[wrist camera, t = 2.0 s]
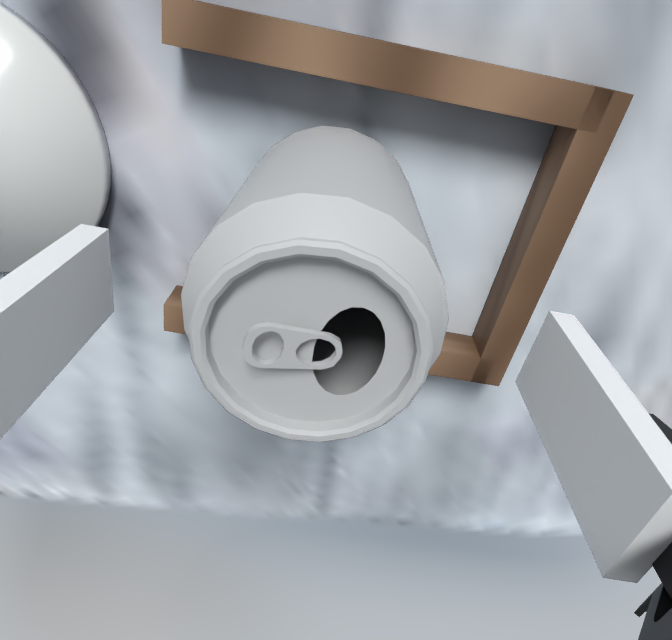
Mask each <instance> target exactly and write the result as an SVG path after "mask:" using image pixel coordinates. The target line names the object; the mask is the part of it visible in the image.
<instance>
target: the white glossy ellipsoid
mask: <svg viewBox="0 0 672 640" xmlns="http://www.w3.org/2000/svg"><path fill="white" fill-rule="evenodd" d="M110 186H111V164H110V156H109V149H108V145H107V141H106V137H105V133H104V129H103V127H102V124H101V121H100V119H99V116H98V113H97V111H96V109H95V107H94V105H93V103H92V101H91V99H90V97H89V95H88V93H87V91H86V89H85V88H84V86H83V84H82V83H81V81H80V80H79V78H78V76H77V75H76V73H75V72H74V70H73V69H72V68H71V67H70V65H69V64H68V63H67V61H66V60H65V59H64V58H63V56H62V55H61V54H60V52H59V51H58V50H57V49H56V48H55V47H54V46H53V45H52V44H51V43H50V42H49V41H48V40H47V39H46V38H45V37H44V35H42V34H41V33H40V32H39V31H38V30H37V29H36V28H34V27H33V26H32V25H31V24H30V23H29V22H28V21H26V20H25V19H24V18H23V17H21V16H20V15H18V14H17V13H16V12H14V11H13V10H11V9H10V8H9V7H7V6H6V5H4V4H3V3H1V2H0V271H1V272H12V271H13V270H15V269H16V268H18V267H19V266H20V265H22V264H23V263H25V262H26V261H28V260H29V259H31V258H32V257H34V256H35V255H36V254H38V253H39V252H41V251H42V250H44V249H45V248H47V247H48V246H50V245H51V244H53V243H54V242H55V241H57V240H58V239H60V238H61V237H63V236H64V235H66V234H67V233H69V232H70V231H71V230H73V229H74V228H76V227H77V226H79V225H80V224H85V225H90V226H96V227H98V225H99V223H100V221H101V219H102V217H103V215H104V212H105V209H106V206H107V203H108V200H109V193H110Z"/></svg>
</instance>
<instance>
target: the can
mask: <svg viewBox="0 0 672 640" xmlns="http://www.w3.org/2000/svg"><path fill="white" fill-rule="evenodd" d="M181 299H182V310H183V321H184V330H185V332H186V335H187V337H188V339H189V341H190V350H191V359H192V361H193V363H194V365H195V368H196V370H197V372H198V374H199V376H200V378H201V380H202V383H203V385H204V387H205V388H206V389H207V390H208V391H209V392H210V393H211V395H212V396H213V397H214V398H215V399H216V400H217V401H218V402H219V403H220V404H221V405H222V406H223V407H224V409H225V410H226V411H228V412H229V413H231V414H232V415H234V416H236V417H237V418H239V419H240V420H242V421H244V422H245V423H247V424H248V425H250V426H252V427H253V428H255V429H258V430H261V431H264V432H267V433H270V434H273V435H276V436H279V437H282V438H286V439H293V440H304V441H316V442H324V441H331V440H338V439H345V438H352V437H355V436H358V435H360V434H363V433H365V432H368V431H370V430H373V429H375V428H378V427H380V426H382V425H384V424H386V423H387V422H388V421H390V420H391V419H392V418H393V417H395V416H396V415H397V414H399V413H400V412H401V411H402V410H404V409H405V408H406V407H408V406H409V405H410V403H411V402H412V400H413V399H414V397H415V396H416V394H417V393H418V391H419V390H420V388H421V387H422V385H423V384H424V382H425V381H426V379H427V375H428V371H429V369H430V368H431V366H432V365H433V363H434V362H435V360H436V359H437V357H438V356H439V354H440V352H441V348H442V344H443V340H444V336H445V332H446V328H447V324H448V320H449V316H448V308H447V300H446V292H445V284H444V280H443V277H442V274H441V271H440V269H439V266H438V263H437V260H436V258H435V255H434V252H433V249H432V247H431V244H430V241H429V238H428V235H427V233H426V230H425V227H424V224H423V222H422V219H421V216H420V213H419V211H418V208H417V205H416V202H415V200H414V197H413V194H412V191H411V189H410V186H409V183H408V181H407V179H406V177H405V175H404V174H403V172H402V170H401V168H400V166H399V164H398V162H397V160H396V159H395V158H394V157H393V156H392V155H391V154H390V153H389V152H388V151H387V150H386V149H385V148H384V147H383V146H382V145H380V144H379V143H378V142H377V141H376V140H374V139H372V138H370V137H368V136H366V135H363V134H361V133H359V132H357V131H355V130H353V129H351V128H341V127H332V126H318V127H314V128H309V129H305V130H301V131H297V132H294V133H292V134H291V135H289V136H287V137H286V138H284V139H283V140H281V141H280V142H278V143H277V144H275V145H273V146H272V147H271V148H270V149H269V150H268V152H267V153H266V154H265V155H264V157H263V158H262V159H261V161H260V162H259V163H258V165H257V166H256V167H255V168H254V170H253V171H252V173H251V174H250V176H249V177H248V178H247V180H246V181H245V183H244V184H243V185H242V187H241V188H240V190H239V191H238V193H237V194H236V195H235V197H234V198H233V200H232V201H231V203H230V204H229V205H228V207H227V208H226V210H225V211H224V212H223V214H222V215H221V217H220V218H219V220H218V221H217V222H216V224H215V225H214V227H213V228H212V230H211V231H210V232H209V234H208V235H207V237H206V238H205V240H204V241H203V242H202V244H201V245H200V247H199V248H198V249H197V251H196V252H195V254H194V255H193V257H192V258H191V262H190V265H189V269H188V272H187V275H186V279H185V282H184V286H183V289H182V292H181Z"/></svg>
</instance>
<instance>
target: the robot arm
mask: <svg viewBox="0 0 672 640" xmlns="http://www.w3.org/2000/svg"><path fill="white" fill-rule="evenodd" d="M113 312H114V303H113V289H112V274H111V259H110V244H109V230H108V229H107V228H101V227H96V226H90V225H85V224H80V225H79V226H77V227H76V228H74V229H73V230H71V231H70V232H69V233H67V234H66V235H64V236H63V237H61V238H60V239H58V240H57V241H55V242H54V243H53V244H51V245H50V246H48V247H47V248H45V249H44V250H42V251H41V252H39V253H38V254H36V255H35V256H34V257H32V258H31V259H29V260H28V261H26V262H25V263H23V264H22V265H20V266H19V267H18V268H16V269H15V270H13V271H12V272H10V273H9V274H7V275H6V276H4V277H3V278H2V279H0V440H1V438H2V437H3V436H4V435H5V434H6V433H7V432H8V431H9V429H10V428H11V427H12V426H13V425H14V424H15V423H16V421H17V420H18V419H19V418H20V417H21V416H22V415H23V414H24V412H25V411H26V410H27V409H28V408H29V407H30V406H31V404H32V403H33V402H34V401H35V400H36V399H37V398H38V397H39V395H40V394H41V393H42V392H43V391H44V390H45V389H46V387H47V386H48V385H49V384H50V383H51V382H52V381H53V380H54V378H55V377H56V376H57V375H58V374H59V373H60V372H61V371H62V369H63V368H64V367H65V366H66V365H67V364H68V363H69V361H70V360H71V359H72V358H73V357H74V356H75V355H76V354H77V352H78V351H79V350H80V349H81V348H82V347H83V346H84V344H85V343H86V342H87V341H88V340H89V339H90V338H91V337H92V335H93V334H94V333H95V332H96V331H97V330H98V329H99V327H100V326H101V325H102V324H103V323H104V322H105V321H106V320H107V318H108V317H109V316H110V315H111V314H112V313H113ZM515 382H516V384H517V386H518V389H519V391H520V393H521V395H522V398H523V400H524V402H525V404H526V407H527V409H528V411H529V413H530V416H531V418H532V420H533V422H534V425H535V427H536V429H537V431H538V434H539V436H540V438H541V440H542V442H543V445H544V447H545V449H546V451H547V454H548V456H549V458H550V460H551V463H552V465H553V467H554V469H555V472H556V474H557V476H558V478H559V481H560V483H561V485H562V487H563V490H564V492H565V494H566V496H567V499H568V501H569V503H570V505H571V508H572V510H573V512H574V514H575V517H576V519H577V521H578V523H579V526H580V528H581V530H582V532H583V535H584V537H585V539H586V541H587V543H588V546H589V548H590V550H591V552H592V555H593V557H594V559H595V561H596V563H597V566H598V568H599V570H600V573H601V575H602V577H603V578H609V579H615V580H621V581H628V582H634V583H637V582H638V581H639V580H640V579H641V578H642V577H643V576H644V575H645V574H646V572H647V571H648V570H649V569H650V568H651V567H652V566H653V567H654V569H655V571H656V572H657V574H658V576H659V578H660V580H661V582H662V583H661V584H660V585H659V587H657V588H656V590H655V591H654V592H653V593H652V594H651V595H650V596H649V597H648V598H647V599H646V600H645V601H644V602H643V603H642V604H641V605H640V606H639V608H638V609H637V610H636V611H635V612H634V613H635V614H636V615H637V616H639V617H640V616H641V615H642V614H643V613H644V612H647V613H646V616H645V620H644V623H643V626H642V629H641V632H640V635H639V639H638V640H672V429H671V428H669V427H668V426H667V425H666V424H665V423H663V422H662V421H661V420H660V419H659V418H657V417H656V416H655V415H654V414H649V413H648V412H647V411H646V410H645V408H644V407H643V406H642V404H641V403H640V402H639V400H638V399H637V398H636V396H635V395H634V394H633V393H632V391H631V390H630V389H629V387H628V386H627V385H626V383H625V382H624V381H623V379H622V378H621V377H620V375H619V374H618V373H617V371H616V370H615V369H614V367H613V366H612V365H611V363H610V362H609V361H608V360H607V358H606V357H605V356H604V354H603V353H602V352H601V350H600V349H599V348H598V346H597V345H596V344H595V342H594V341H593V340H592V338H591V337H590V336H589V334H588V333H587V332H586V330H585V329H584V328H583V327H582V325H581V324H580V323H579V321H578V320H577V319H576V317H575V316H574V315H571V314H565V313H560V312H555V311H549V313H548V315H547V317H546V319H545V321H544V323H543V325H542V327H541V329H540V331H539V333H538V335H537V338H536V340H535V342H534V344H533V346H532V348H531V350H530V352H529V354H528V356H527V358H526V360H525V362H524V365H523V367H522V369H521V371H520V373H519V375H518V377H517V379H516V381H515Z"/></svg>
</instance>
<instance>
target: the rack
mask: <svg viewBox="0 0 672 640" xmlns="http://www.w3.org/2000/svg"><path fill="white" fill-rule="evenodd" d="M162 43H163V44H168V45H172V46H177V47H182V48H187V49H192V50H197V51H201V52H206V53H211V54H216V55H221V56H226V57H230V58H235V59H240V60H245V61H250V62H255V63H259V64H264V65H269V66H274V67H279V68H283V69H288V70H293V71H298V72H303V73H308V74H312V75H317V76H322V77H327V78H332V79H337V80H341V81H346V82H351V83H356V84H361V85H366V86H370V87H375V88H380V89H385V90H390V91H395V92H399V93H404V94H409V95H414V96H419V97H424V98H428V99H433V100H438V101H443V102H448V103H452V104H457V105H462V106H467V107H472V108H477V109H481V110H486V111H491V112H496V113H501V114H506V115H510V116H515V117H520V118H525V119H530V120H535V121H539V122H544V123H549V124H554V125H556V127H555V130H554V133H553V135H552V138H551V140H550V143H549V145H548V148H547V150H546V153H545V155H544V158H543V160H542V163H541V165H540V168H539V170H538V173H537V175H536V178H535V180H534V183H533V185H532V188H531V190H530V193H529V195H528V198H527V200H526V203H525V205H524V208H523V210H522V213H521V215H520V218H519V220H518V223H517V225H516V228H515V230H514V233H513V235H512V238H511V240H510V243H509V245H508V248H507V250H506V253H505V255H504V258H503V260H502V263H501V265H500V268H499V270H498V273H497V275H496V278H495V280H494V283H493V285H492V288H491V290H490V293H489V296H488V298H487V301H486V303H485V306H484V308H483V311H482V313H481V316H480V318H479V321H478V323H477V326H476V328H475V331H474V333H473V336H467V335H461V334H455V333H449V332H445V336H444V340H443V344H442V348H441V352H440V354H439V356H438V357H437V359H436V360H435V362H434V363H433V365H432V366H431V368H430V369H429V371H428V374H429V375H435V376H441V377H447V378H453V379H459V380H465V381H471V382H477V383H483V384H489V385H495V386H499V385H500V382H501V380H502V378H503V376H504V374H505V372H506V369H507V367H508V365H509V363H510V361H511V359H512V357H513V354H514V352H515V350H516V348H517V346H518V344H519V341H520V339H521V337H522V335H523V333H524V331H525V329H526V326H527V324H528V322H529V320H530V318H531V316H532V313H533V311H534V309H535V307H536V305H537V303H538V301H539V298H540V296H541V294H542V292H543V290H544V288H545V285H546V283H547V281H548V279H549V277H550V275H551V273H552V270H553V268H554V266H555V264H556V262H557V260H558V257H559V255H560V253H561V251H562V249H563V247H564V244H565V242H566V240H567V238H568V236H569V234H570V232H571V229H572V227H573V225H574V223H575V221H576V219H577V216H578V214H579V212H580V210H581V208H582V206H583V204H584V201H585V199H586V197H587V195H588V193H589V191H590V188H591V186H592V184H593V182H594V180H595V178H596V176H597V173H598V171H599V169H600V167H601V165H602V163H603V160H604V158H605V156H606V154H607V152H608V150H609V148H610V145H611V143H612V141H613V139H614V137H615V135H616V132H617V130H618V128H619V126H620V124H621V122H622V120H623V117H624V115H625V113H626V111H627V109H628V107H629V104H630V102H631V100H632V98H633V96H634V95H632V94H628V93H624V92H619V91H615V90H611V89H607V88H602V87H597V86H593V85H588V84H583V83H579V82H574V81H569V80H565V79H560V78H555V77H551V76H546V75H541V74H537V73H532V72H527V71H523V70H518V69H513V68H509V67H504V66H499V65H495V64H490V63H485V62H481V61H476V60H471V59H467V58H462V57H457V56H453V55H448V54H443V53H439V52H434V51H429V50H425V49H420V48H415V47H411V46H406V45H401V44H397V43H392V42H387V41H383V40H378V39H373V38H369V37H364V36H359V35H354V34H350V33H345V32H340V31H336V30H331V29H326V28H322V27H317V26H312V25H308V24H303V23H298V22H294V21H289V20H284V19H280V18H275V17H270V16H266V15H261V14H256V13H252V12H247V11H242V10H238V9H233V8H228V7H224V6H219V5H214V4H210V3H205V2H200V1H196V0H162ZM182 289H183V286H176V287H175V289H174V290H173V292H172V293H171V295H170V296H169V298H168V299H167V301H166V302H165V304H164V331H170V332H176V333H182V334H186V332H185V330H184V321H183V310H182V299H181V292H182Z"/></svg>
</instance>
